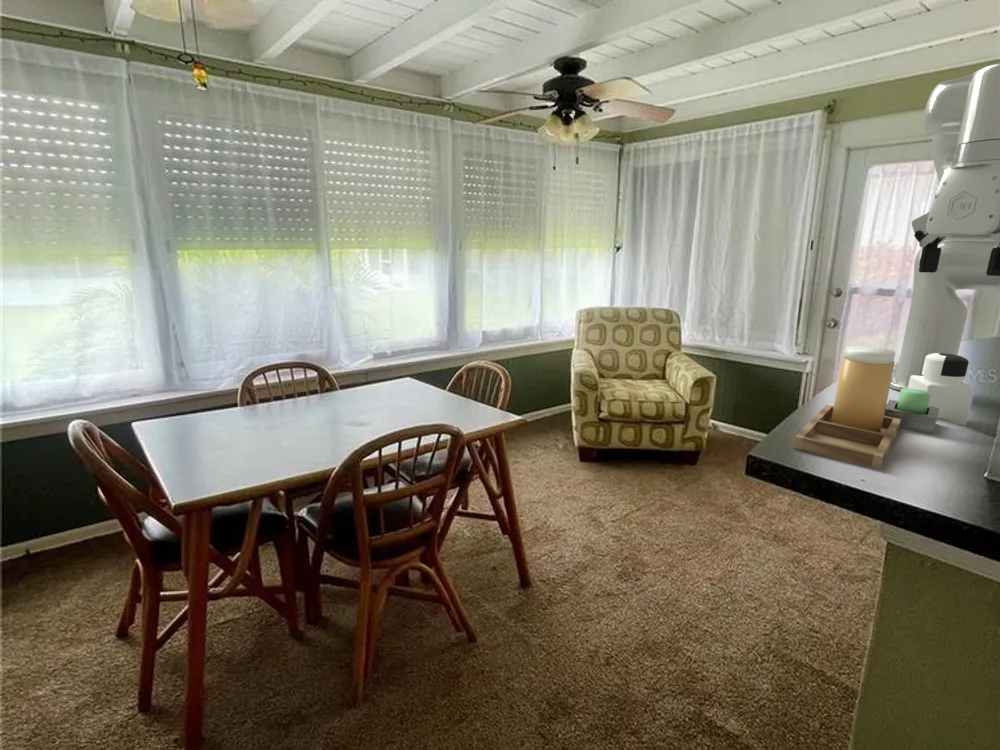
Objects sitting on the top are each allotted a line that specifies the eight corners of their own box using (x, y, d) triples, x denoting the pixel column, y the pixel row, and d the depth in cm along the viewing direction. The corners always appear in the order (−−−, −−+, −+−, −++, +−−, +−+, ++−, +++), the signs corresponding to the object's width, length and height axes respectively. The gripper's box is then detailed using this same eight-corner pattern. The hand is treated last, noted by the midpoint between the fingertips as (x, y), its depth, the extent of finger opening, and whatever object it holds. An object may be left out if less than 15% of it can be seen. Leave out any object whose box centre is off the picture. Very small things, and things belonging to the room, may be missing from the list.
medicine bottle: (945, 413, 99) (960, 352, 96) (966, 426, 93) (983, 360, 90) (902, 410, 101) (915, 349, 98) (919, 422, 95) (934, 358, 91)
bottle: (821, 422, 91) (834, 345, 87) (860, 421, 91) (875, 345, 88) (848, 437, 84) (864, 355, 81) (890, 436, 84) (908, 355, 81)
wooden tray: (823, 420, 95) (826, 404, 95) (897, 435, 88) (901, 419, 87) (792, 454, 80) (794, 436, 80) (878, 476, 73) (882, 456, 72)
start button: (897, 408, 93) (902, 387, 92) (926, 413, 90) (931, 391, 89) (894, 414, 90) (899, 391, 89) (924, 419, 87) (929, 396, 86)
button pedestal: (885, 420, 96) (889, 399, 94) (934, 429, 91) (939, 408, 90) (879, 430, 90) (884, 408, 89) (930, 441, 86) (936, 418, 85)
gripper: (909, 164, 85) (888, 271, 89) (1041, 145, 69) (1008, 277, 73) (942, 167, 87) (920, 271, 91) (1078, 149, 71) (1044, 277, 75)
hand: (959, 273), depth 82 cm, fingers open, 9 cm apart
